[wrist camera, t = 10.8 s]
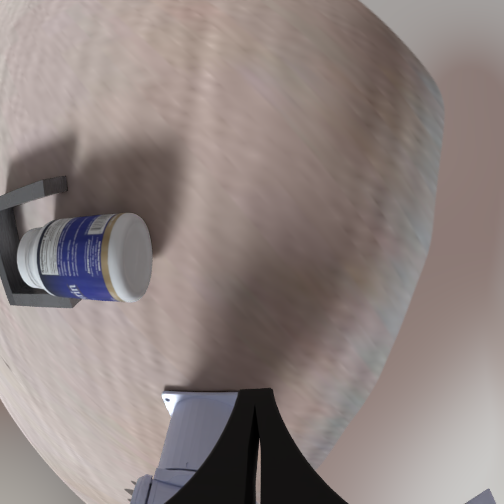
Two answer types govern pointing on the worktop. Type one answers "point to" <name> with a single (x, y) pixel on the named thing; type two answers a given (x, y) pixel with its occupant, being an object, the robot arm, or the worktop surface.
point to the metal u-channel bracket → (6, 245)
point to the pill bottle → (89, 257)
